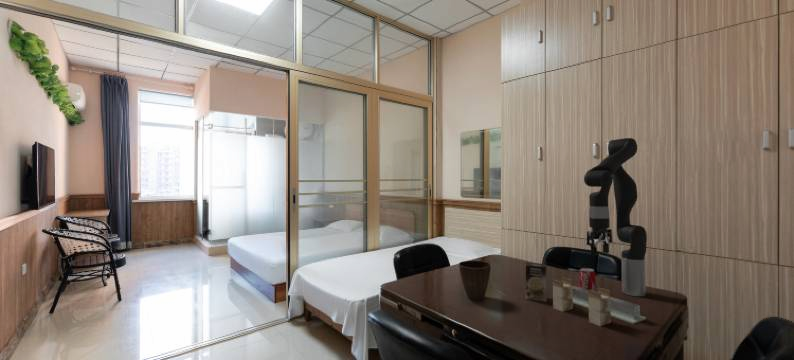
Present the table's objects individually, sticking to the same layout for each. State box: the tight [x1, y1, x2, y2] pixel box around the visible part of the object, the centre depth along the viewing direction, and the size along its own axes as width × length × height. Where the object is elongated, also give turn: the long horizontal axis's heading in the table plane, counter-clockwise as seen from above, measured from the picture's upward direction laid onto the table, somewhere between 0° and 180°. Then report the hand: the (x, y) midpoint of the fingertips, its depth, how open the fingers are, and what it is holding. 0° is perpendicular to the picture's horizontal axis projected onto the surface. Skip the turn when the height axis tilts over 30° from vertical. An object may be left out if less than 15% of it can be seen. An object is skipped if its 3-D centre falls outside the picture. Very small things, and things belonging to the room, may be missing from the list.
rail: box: [572, 285, 641, 320], centre depth 143 cm, size 4×28×5 cm, turn 27°
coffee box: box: [525, 262, 548, 303], centre depth 156 cm, size 9×6×16 cm
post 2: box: [588, 287, 612, 327], centre depth 129 cm, size 7×4×12 cm, turn 117°
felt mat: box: [573, 300, 647, 324], centre depth 143 cm, size 9×30×1 cm, turn 27°
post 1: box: [552, 277, 574, 313], centre depth 143 cm, size 7×4×12 cm, turn 117°
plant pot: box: [458, 260, 492, 301], centre depth 158 cm, size 15×15×16 cm
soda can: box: [578, 267, 597, 292], centre depth 160 cm, size 7×7×12 cm
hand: (600, 254), depth 143 cm, fingers open, 8 cm apart
